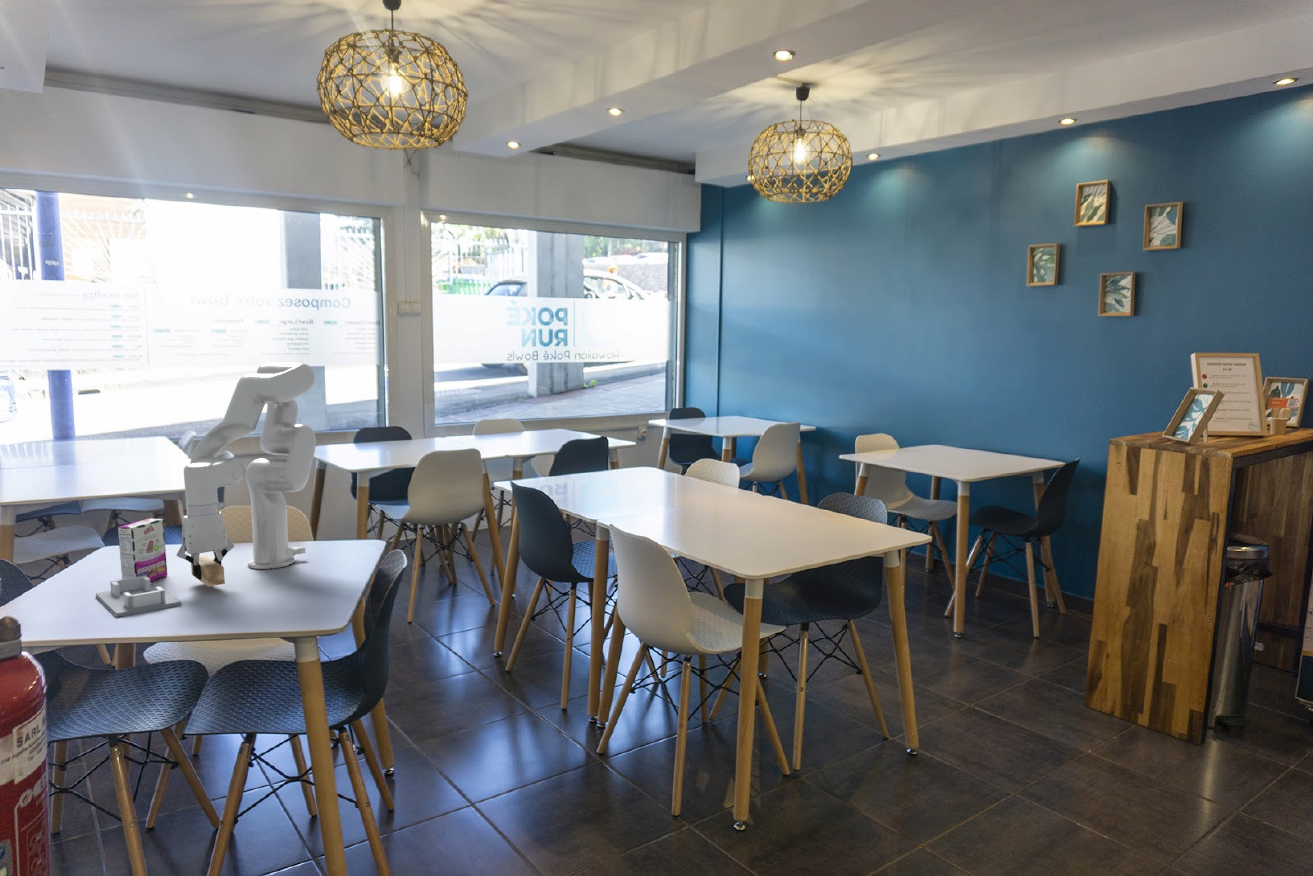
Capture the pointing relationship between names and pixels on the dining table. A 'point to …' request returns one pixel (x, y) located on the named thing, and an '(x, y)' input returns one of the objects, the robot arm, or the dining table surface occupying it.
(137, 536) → the candy bar box
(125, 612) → the board
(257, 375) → the robot arm
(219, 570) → the oak block
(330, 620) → the dining table surface
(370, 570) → the dining table surface
